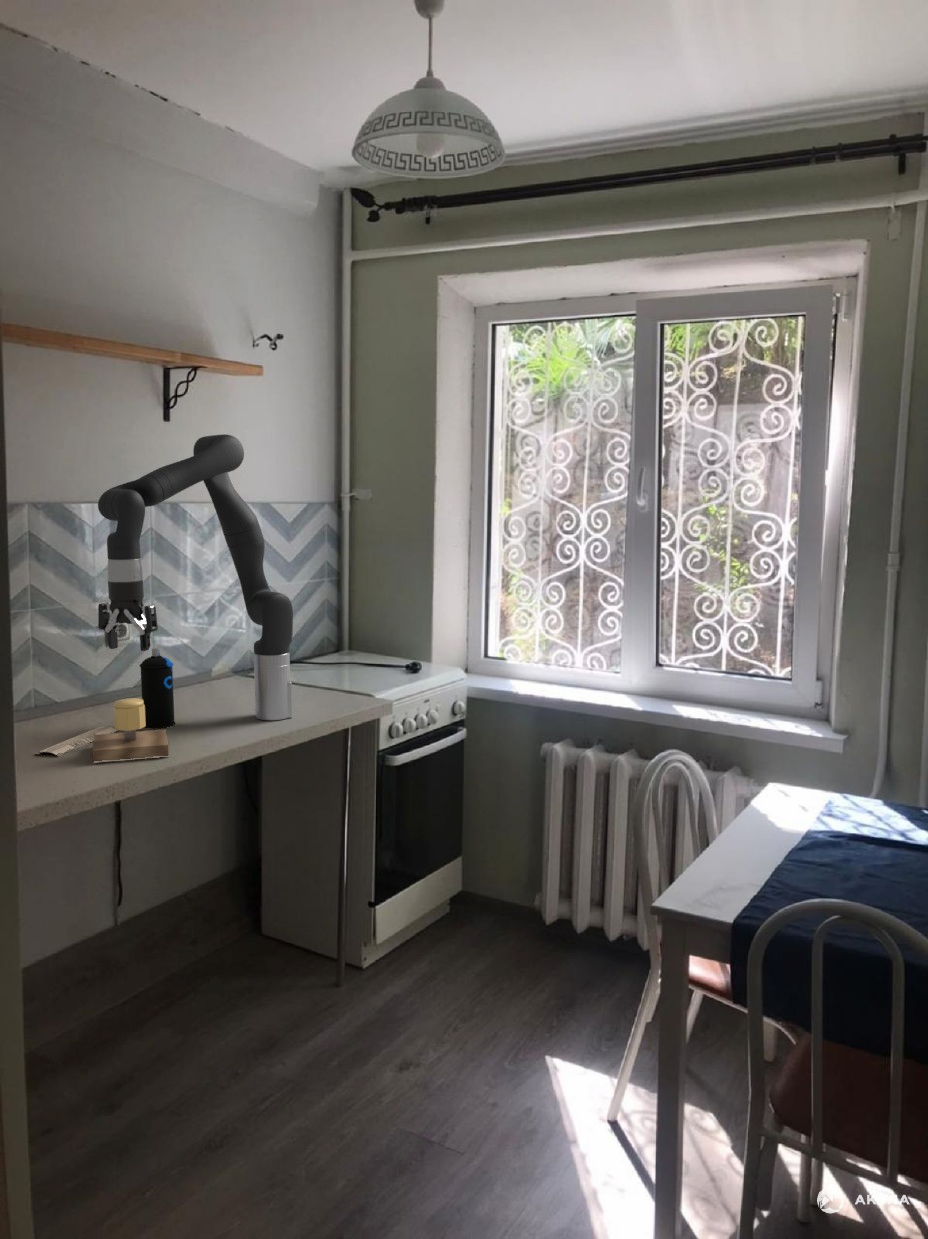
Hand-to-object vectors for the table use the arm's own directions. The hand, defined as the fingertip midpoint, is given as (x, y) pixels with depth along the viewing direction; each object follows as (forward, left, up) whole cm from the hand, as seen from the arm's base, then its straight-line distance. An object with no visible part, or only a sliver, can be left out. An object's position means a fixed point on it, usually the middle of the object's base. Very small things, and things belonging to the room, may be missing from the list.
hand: (129, 649), depth 227 cm
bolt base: (+1, +1, -24) cm, 24 cm away
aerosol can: (-6, -23, -24) cm, 34 cm away
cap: (+1, +1, -18) cm, 18 cm away
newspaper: (+12, -12, -25) cm, 30 cm away
